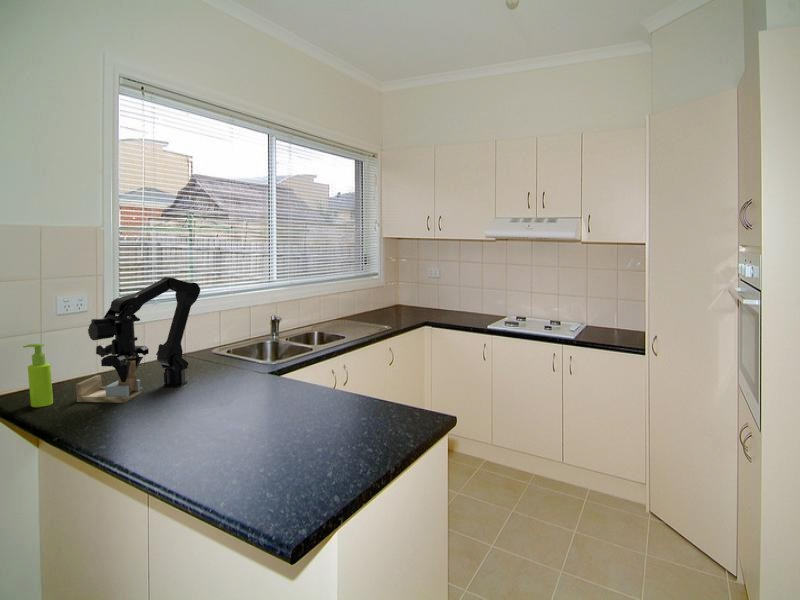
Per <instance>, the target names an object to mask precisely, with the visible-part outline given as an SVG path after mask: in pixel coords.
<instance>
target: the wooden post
mask: <svg viewBox="0 0 800 600" xmlns="http://www.w3.org/2000/svg"><path fill="white" fill-rule="evenodd" d="M127 363H130V367H129V371H128V375H127V379H126V382H122V381H121V379H120V377H119V375H118V374H117V381H118V385H125V386H129V392H132V391H133V390H135V389H137V380H138V379H137V370H136V360H127Z"/></svg>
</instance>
